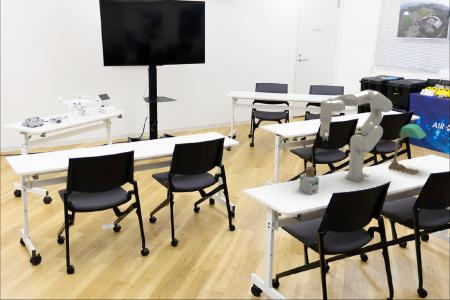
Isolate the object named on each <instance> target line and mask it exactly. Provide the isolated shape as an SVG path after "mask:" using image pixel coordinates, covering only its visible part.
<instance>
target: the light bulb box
mask: <svg viewBox="0 0 450 300" xmlns="http://www.w3.org/2000/svg"><path fill="white" fill-rule="evenodd" d="M299 175H300V176H299V186H298V187H299V188H298V190H299V191H301V192H304V193H306V194H310V195H313V194H316V193H318V192H319V181H320V177H319V176H317V175H314V177H306V172H305V173H302V174H299Z"/></svg>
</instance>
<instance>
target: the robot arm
mask: <svg viewBox="0 0 450 300" xmlns="http://www.w3.org/2000/svg"><path fill="white" fill-rule="evenodd" d="M365 104H370V106H369V107H370V114H369V116H368V118H367V119H366V120H365V122H364V123H363V125H362V126H361V127H360V133H361V134H354V135H352V136H351V137H350V139H349V140H350V141H349V147H350V154H349V163H348V171H347V174H345V179H347V180H350V181H354V182H361V181H363V180H364V179H365V178H370V174H369V173H363V172H364V171H363V169H364V160H365V153H368V152H371V151H372V150H373V149H374V147H375V146H376V145H377V143H378V142H379V141H380V139H381V138H382V136H383V134H384V129H383V127H382V126H381V125H380V124H381V122H382V119H383V113H388V112H390V111H392V109H393V103H392V101H391V100H390V99H389V98H388V97H386V96H385V95H384V94H382V93H381V92H379V91H377V90H372V89H365V90H362V91H359V92H354V93H348V94H339V95H335V96H332V97H330V98H327V100H325V99H324V100H322V101H321V102H320V111H319V114H320V115H319V122H320V127H319V128H320V129H319V130H320V131H319V136H320V143H322V147H328V145H329V143H328V141H329V136H330V124H331V123H332V119H333V112H339V113H340V112H342V111H344V110H345V107H358V106H361V105H365Z"/></svg>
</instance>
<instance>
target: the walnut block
mask: <svg viewBox="0 0 450 300" xmlns="http://www.w3.org/2000/svg"><path fill="white" fill-rule="evenodd" d="M305 173H306V177H314V176H315V167H314V166H313V167H311V166H306V167H305Z"/></svg>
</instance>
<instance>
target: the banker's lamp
mask: <svg viewBox="0 0 450 300" xmlns="http://www.w3.org/2000/svg"><path fill="white" fill-rule="evenodd" d="M398 135H399V136H400V137H399V138H397V140H396V142H395V146H394V147H395V149H394V155H393V160H392V161H391V163H390V164H389V165H388V167H387V168H389V169H388V170H391V169H393V170H392V171H395V170H397V171H396V172H399V171H401V173H404V172H406V173H405V174H408V173H410V174H409V175H413V174H415V175H416V174H418V172H419V169H411V168H407V167H406V166H405V165H404V164H402V163H401V164H400V163H399V162H398V161H397V156H398V149H399V144H400V142H401V141H402V140H403V139H406V138H413V139H417V140H421V139H423V138H425V137H427V134H426V132H425V131H424V130H423V128H421V126H420V125H418V124H415V123H414V124H413V123H408V124H406V125H404V126H402V127H401V129H400V132H399V134H398Z"/></svg>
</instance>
